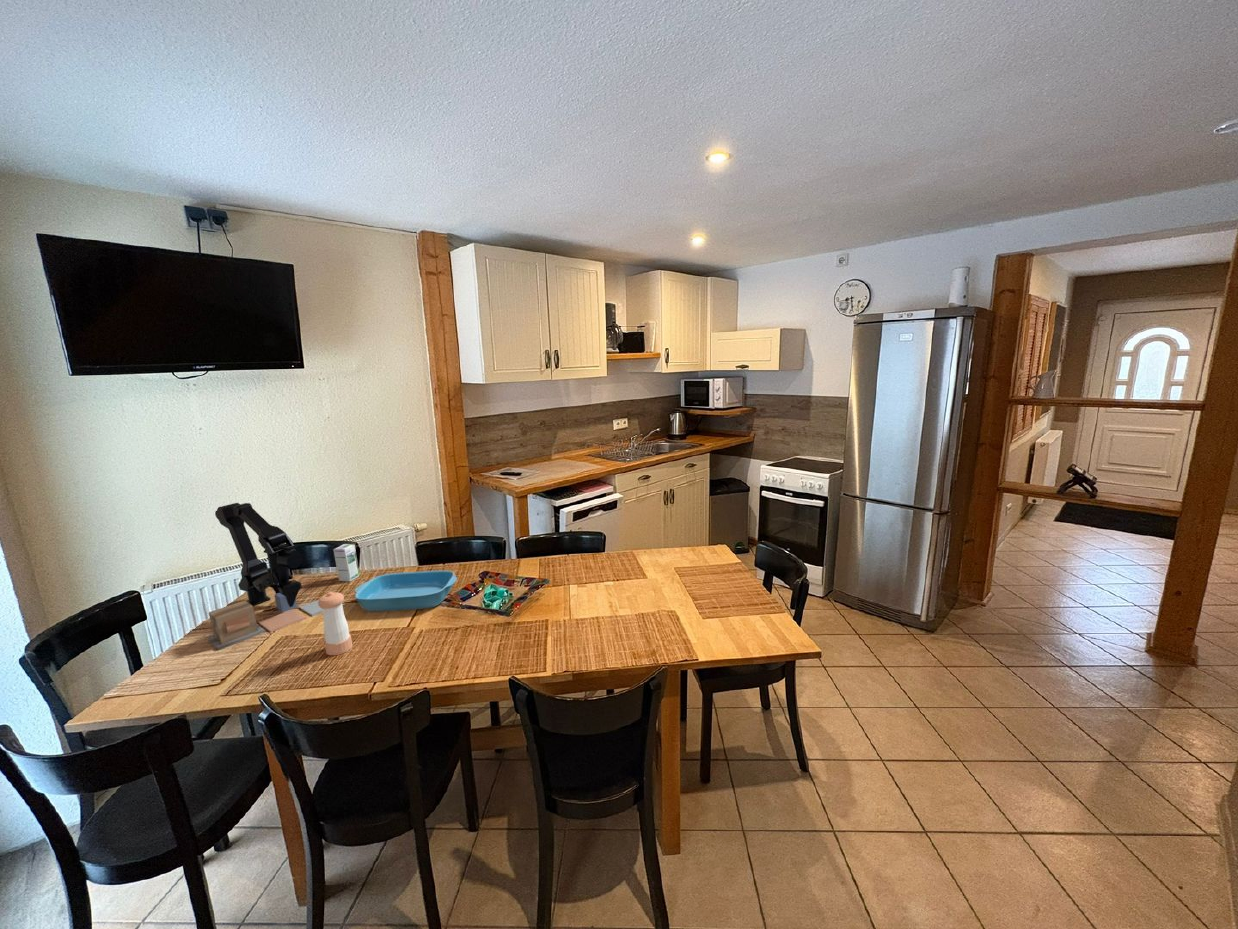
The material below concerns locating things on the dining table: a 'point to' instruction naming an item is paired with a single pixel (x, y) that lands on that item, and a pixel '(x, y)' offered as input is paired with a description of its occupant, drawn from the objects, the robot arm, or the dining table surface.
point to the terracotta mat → (282, 620)
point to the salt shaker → (335, 624)
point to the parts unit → (233, 624)
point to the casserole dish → (405, 590)
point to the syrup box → (346, 562)
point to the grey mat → (312, 608)
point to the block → (283, 603)
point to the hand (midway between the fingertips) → (286, 603)
